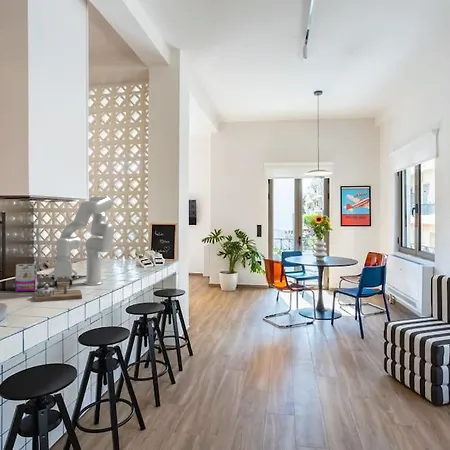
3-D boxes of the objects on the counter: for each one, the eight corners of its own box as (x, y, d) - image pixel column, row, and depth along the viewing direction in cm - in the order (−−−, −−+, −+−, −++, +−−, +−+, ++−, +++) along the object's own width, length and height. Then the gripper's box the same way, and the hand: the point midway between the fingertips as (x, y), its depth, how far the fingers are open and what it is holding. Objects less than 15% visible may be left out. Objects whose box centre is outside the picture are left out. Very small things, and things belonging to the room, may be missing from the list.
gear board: (35, 295, 210) (36, 283, 209) (80, 293, 220) (80, 281, 219) (34, 301, 196) (34, 289, 196) (81, 298, 206) (82, 286, 206)
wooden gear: (56, 287, 224) (56, 282, 224) (69, 286, 227) (69, 281, 227) (56, 290, 217) (56, 285, 217) (70, 289, 220) (70, 284, 220)
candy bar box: (37, 289, 225) (37, 263, 224) (35, 291, 220) (35, 264, 220) (17, 290, 222) (17, 263, 221) (14, 291, 217) (15, 264, 216)
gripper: (47, 259, 214) (47, 289, 215) (78, 258, 221) (78, 286, 222) (47, 257, 221) (47, 286, 222) (78, 256, 228) (78, 284, 229)
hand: (63, 286), depth 222 cm, fingers closed on wooden gear, 7 cm apart
